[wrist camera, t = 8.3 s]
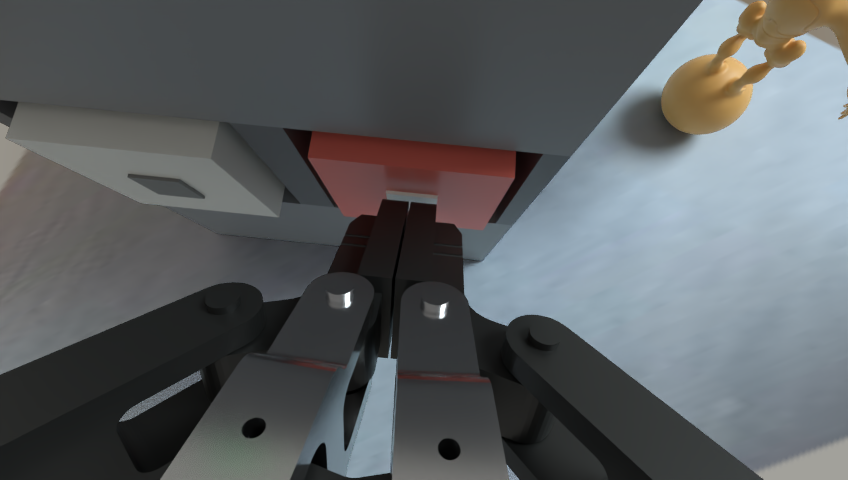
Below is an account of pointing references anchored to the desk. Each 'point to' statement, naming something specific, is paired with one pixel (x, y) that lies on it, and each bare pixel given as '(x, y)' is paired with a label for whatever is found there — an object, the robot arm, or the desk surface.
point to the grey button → (153, 157)
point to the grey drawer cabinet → (344, 80)
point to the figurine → (729, 79)
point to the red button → (412, 175)
